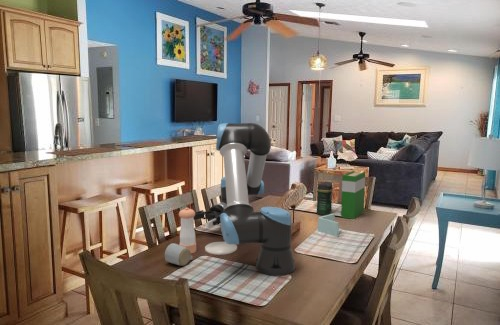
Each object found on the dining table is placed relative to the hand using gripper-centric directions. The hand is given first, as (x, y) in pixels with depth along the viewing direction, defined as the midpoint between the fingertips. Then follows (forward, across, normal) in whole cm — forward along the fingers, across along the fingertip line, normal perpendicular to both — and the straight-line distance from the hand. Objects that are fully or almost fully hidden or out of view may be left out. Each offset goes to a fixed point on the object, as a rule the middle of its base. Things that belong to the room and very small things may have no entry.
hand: (194, 223), depth 173 cm
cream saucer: (-2, -12, -10) cm, 16 cm away
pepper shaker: (+7, 0, -11) cm, 12 cm away
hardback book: (-82, -54, -11) cm, 99 cm away
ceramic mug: (+18, -5, -11) cm, 22 cm away
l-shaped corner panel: (-47, -52, -11) cm, 71 cm away
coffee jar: (-76, -39, -11) cm, 86 cm away
